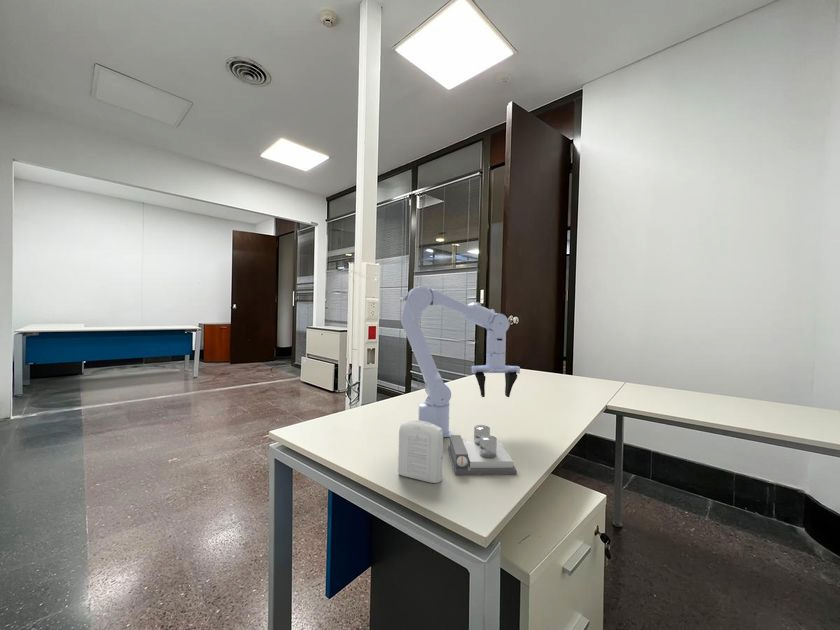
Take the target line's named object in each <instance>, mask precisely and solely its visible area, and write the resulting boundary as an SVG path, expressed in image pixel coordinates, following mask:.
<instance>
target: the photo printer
mask: <svg viewBox="0 0 840 630" xmlns="http://www.w3.org/2000/svg"><path fill="white" fill-rule="evenodd" d="M443 454H444V437H443V430H442V428H440V427H438V426H436V425H434V424H432V423H429V422H425V421H418V419H417V420H406V421H403V422H402V423H401V424H400V426H399V431H398V456H397V457H398V458H397V460H398V462H397V463H398V465H397V466H398V467H397V468H398V469H397V473H398V475H400V476H403V477H406V478H411V479H415V480H419V481H421V482H422V481H423V482H427V483H432V484H438V483H440V482H442V480H443V462H444V461H443V457H444V455H443Z"/></svg>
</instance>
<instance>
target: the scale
mask: <svg viewBox="0 0 840 630" xmlns="http://www.w3.org/2000/svg"><path fill="white" fill-rule="evenodd" d="M447 446H448V447H447V448H448V449H447V450H448V453H449V456H450V459H451V463H452V467H453V470H454V474H455V475H456V476H457V475H461V476H462V475H463V476H464V475H469V476H470V475H471V476H472V475H473V476H474V475H475V476H476V475H517V471H518V470H517V468H516V467H515V465H514V461H513V459H512V457H511V455H509V452H508V451H507V450H506V448H505V446H504V445H503V444H502V443H501V441H498V440H497V449H496V457H495V458H484V457H482V456H480V455H479V447H480V446H478V445H476V444H475V443H474V440H473V441H472V440H471V441H469V440H467V441H463V438H462V436H461V434H452V435H450V437H449V445H447Z"/></svg>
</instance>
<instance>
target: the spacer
mask: <svg viewBox="0 0 840 630" xmlns="http://www.w3.org/2000/svg"><path fill="white" fill-rule="evenodd" d="M497 441H498V439H497V437H496V436H495V435H491V434H490V435H482V436H480V447H479V455H480V456H482V457H484V458H495V457H496V449H497Z"/></svg>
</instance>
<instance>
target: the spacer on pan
mask: <svg viewBox="0 0 840 630" xmlns="http://www.w3.org/2000/svg"><path fill="white" fill-rule="evenodd" d="M473 431H474V432H473V433H474V434H473V441H474V443H475V444H476V445H478V446H480V436H482V435H491V428H490V427H489V426H488V425H483V424H477V425H475V426H474V428H473Z"/></svg>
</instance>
